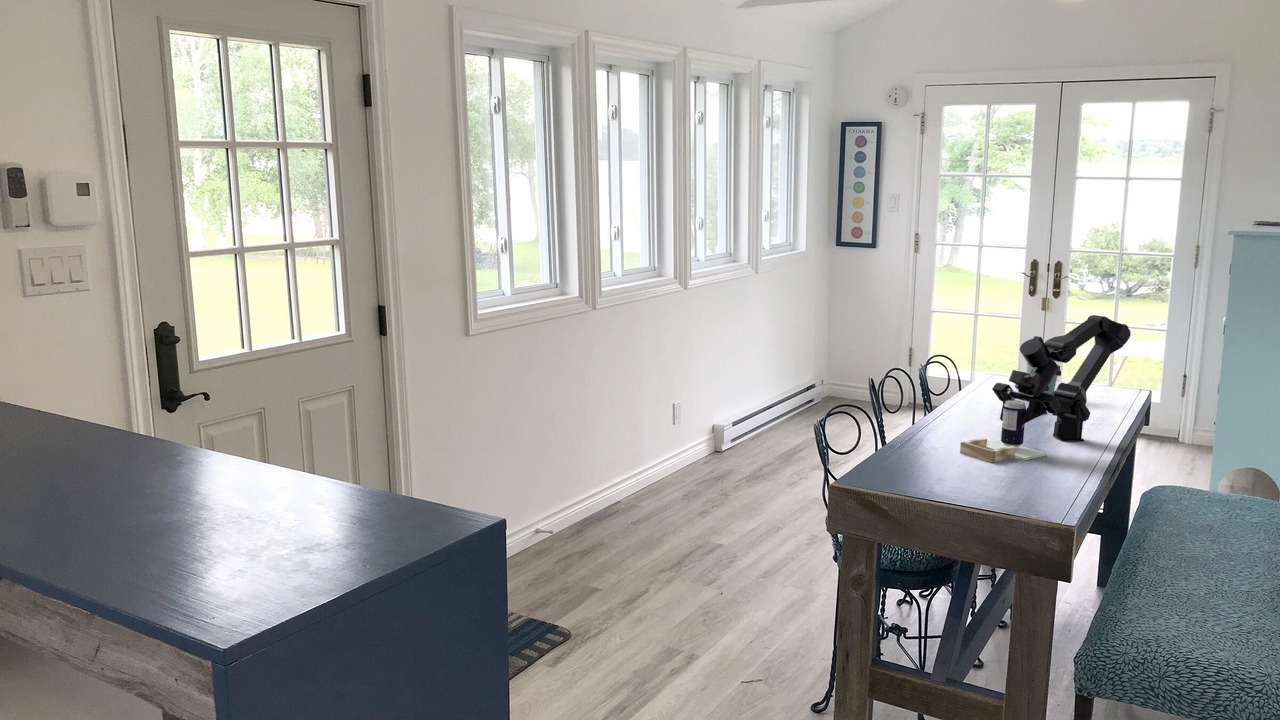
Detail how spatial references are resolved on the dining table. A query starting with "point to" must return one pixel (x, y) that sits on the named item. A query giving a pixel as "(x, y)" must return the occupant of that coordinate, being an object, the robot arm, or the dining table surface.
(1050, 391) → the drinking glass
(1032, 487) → the dining table surface
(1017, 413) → the beverage can
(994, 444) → the sage pad
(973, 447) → the frame
